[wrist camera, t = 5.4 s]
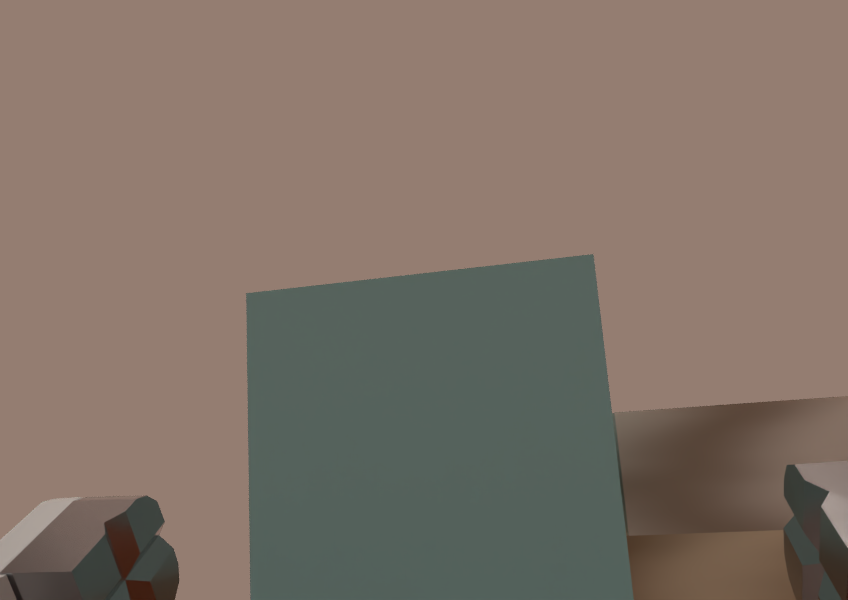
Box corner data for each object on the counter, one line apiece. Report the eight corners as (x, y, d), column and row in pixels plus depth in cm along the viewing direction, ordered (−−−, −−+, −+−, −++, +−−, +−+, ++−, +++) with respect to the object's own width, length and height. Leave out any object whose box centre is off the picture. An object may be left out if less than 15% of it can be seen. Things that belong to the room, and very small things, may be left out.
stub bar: (251, 659, 7) (246, 293, 8) (483, 495, 27) (474, 390, 27) (640, 657, 7) (593, 254, 7) (589, 490, 26) (578, 382, 27)
